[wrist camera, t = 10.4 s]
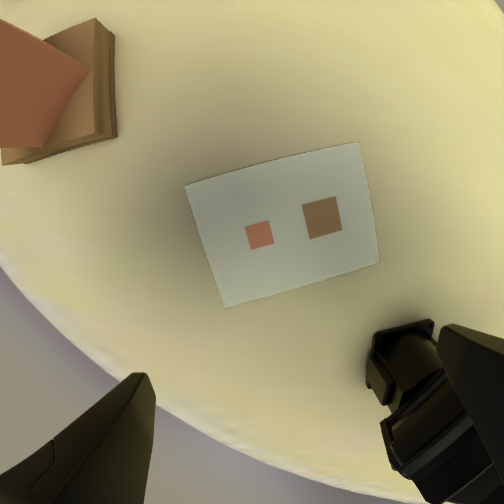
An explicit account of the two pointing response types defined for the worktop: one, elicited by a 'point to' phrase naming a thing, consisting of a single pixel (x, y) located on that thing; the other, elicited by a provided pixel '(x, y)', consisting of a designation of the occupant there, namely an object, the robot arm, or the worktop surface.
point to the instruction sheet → (285, 223)
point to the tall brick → (33, 87)
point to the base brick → (80, 95)
